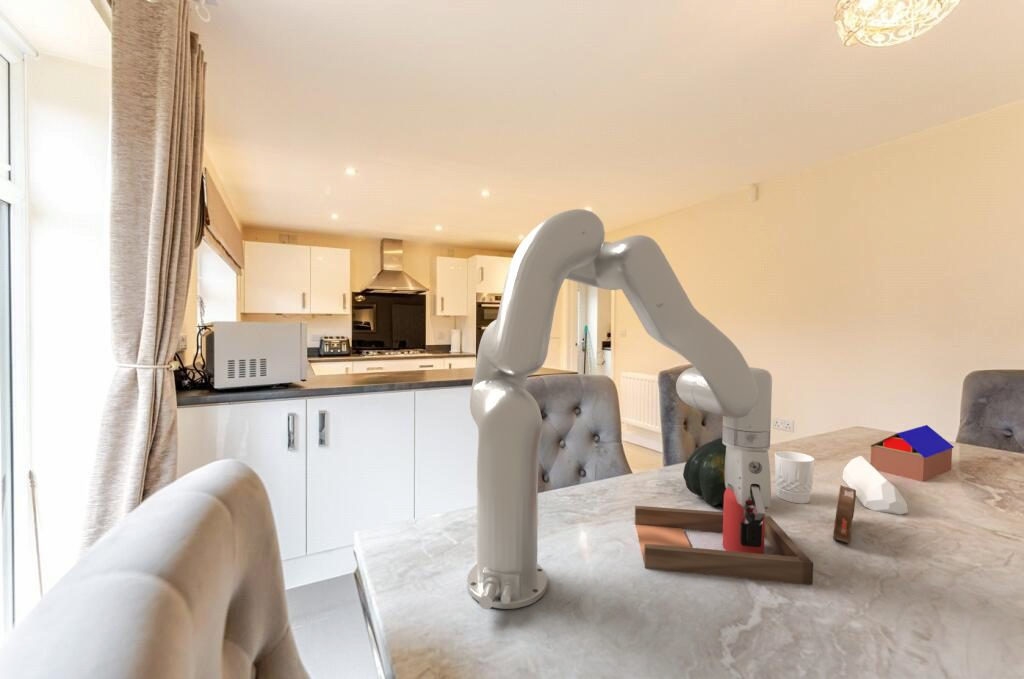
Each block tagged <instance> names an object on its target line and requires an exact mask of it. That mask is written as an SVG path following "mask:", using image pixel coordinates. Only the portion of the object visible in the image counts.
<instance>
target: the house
mask: <svg viewBox="0 0 1024 679" xmlns="http://www.w3.org/2000/svg"><path fill="white" fill-rule="evenodd" d="M869 447H870V461H869V463H870V464H871V465H872V466H874V467H875V468H876V469H877V470H878V471H879V472H880V473H881V472H882V473H885V474H890V475H894V476H897V477H901V478H906V479H909V480H914V481H916V482H921V483H923V482H925V481H928V480H931V479H932V478H936V477H937V476H940V475H942V474H944V473H946V472H949V471H951V470H952V459H953V458H952V457H953V456H952V455H953V449H954V446H953V445H952V444H951V443H950V442H949V441H947V440H946V439H945V437H943V436H941V434H939V433H937V432H936V431H935V430H934V429H933V428H932V427H930V426H929V425H928V424H925V425H922V426H919V427H915V428H911V429H908V430H907V429H906V430H904V431H901V432H896V433H893V434H892V435H891V436H888V437H886V438H884V439H881V440H880V441H877V442H874V443H873V444H871V445H869Z"/></svg>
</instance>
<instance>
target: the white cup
mask: <svg viewBox="0 0 1024 679" xmlns="http://www.w3.org/2000/svg"><path fill="white" fill-rule="evenodd" d="M815 462H816V461H815V458H814V457H813V456H811V455H809V454H805V453H802V452H797V451H796V452H795V451H789V450H788V451H786V450H785V451H784V450H782V451H781V450H779V451H775V452H774V474H775V475H774V480H775V482H774V483H775V488H776V489H775V494H776V496H777V498H779V499H781V500H783V501H785V502H789V503H794V504H799V505H800V504H808V503H811V494H812V490H813V482H814V471H815Z"/></svg>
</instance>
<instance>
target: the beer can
mask: <svg viewBox="0 0 1024 679" xmlns="http://www.w3.org/2000/svg"><path fill="white" fill-rule="evenodd" d="M727 486H728V487H727V488H726V490H725V493H724V506H723V509H722V510H723V511H722V512H723V533H722V548H723V549H724V551H735V552H747V553H758V554H765V537H764V534H765V515H766V514H765V515H764V519H763V525H762V542H761V547H750V546H742V545H741V543H740V531H741V522H743V516H742V506H741V505H740V504H738V503H737V500H736V497H735V494H734V489H733V488H732V487H730V486H729V483H728V484H727ZM745 503H746V504H747V505H753V503H752V501H746V502H745ZM764 508H765V507H764ZM765 509H766V508H765ZM747 512H748V515H749V514H750V512H753V509H748V508H747Z"/></svg>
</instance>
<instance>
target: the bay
mask: <svg viewBox="0 0 1024 679" xmlns="http://www.w3.org/2000/svg"><path fill="white" fill-rule="evenodd" d="M634 525H636V526H635V529H636V534H638V535H637V539H638V538H639V539H638V543H639V547H641V548H640V552H641V557H642V556H643V557H642V560H643V566H644V565H645V566H644V568H645V569H648V568H651V570H658V569H659V570H658V571H669V572H670V571H671V572H682V573H689V574H690V573H691V574H700V575H709V576H710V575H712V576H720V577H721V576H722V577H732V578H742V579H753V580H761V581H762V580H763V581H771V582H772V581H773V582H780V583H781V582H782V583H792V584H801V585H812V586H813V579H814V575H813V574H814V562H813V561H812V560H811V559H810V558H809V557H808V556H807V555H806V554H805V553H804V551H803V550H802V549H801V548H800V547H799V546H798V545H797V544H796V543H795V541H794V540H792V539H791V537H790V536H789V535H788V533H786V532H785V531H784V530H783V529H782V528H781V526H780V525H779V524H778V523H777V522H776V521H775V520H774V519H773V518H772V517H771V515H768V514H765V534H764V539H765V540H766V541H767V543H769V545H770V546H771V547H772V548H773V550H774V551H775V552H776V554H770V553H769V554H767V553H764V554H758V553H747V552H735V551H726V550H725V549H724V550H723V549H710V548H699V547H692V546H691V544H690V542H689V539H688V538H687V536H686V535H687V534H686V533H685V530H684V529H688V530H687V531H696V530H700V531H699V532H708V531H711V533H720V532H723V511H712V510H699V509H686V508H685V509H684V508H674V507H671V508H670V507H659V506H647V505H634ZM689 529H690V530H689Z"/></svg>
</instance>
